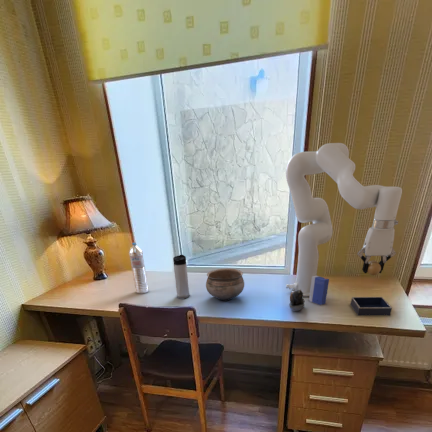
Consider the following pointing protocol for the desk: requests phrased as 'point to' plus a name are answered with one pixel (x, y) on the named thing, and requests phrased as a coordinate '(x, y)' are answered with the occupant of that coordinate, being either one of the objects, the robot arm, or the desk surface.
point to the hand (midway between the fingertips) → (371, 271)
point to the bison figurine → (296, 300)
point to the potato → (373, 267)
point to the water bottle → (138, 269)
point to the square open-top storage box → (370, 306)
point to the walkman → (318, 290)
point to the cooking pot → (225, 283)
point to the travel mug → (181, 276)
